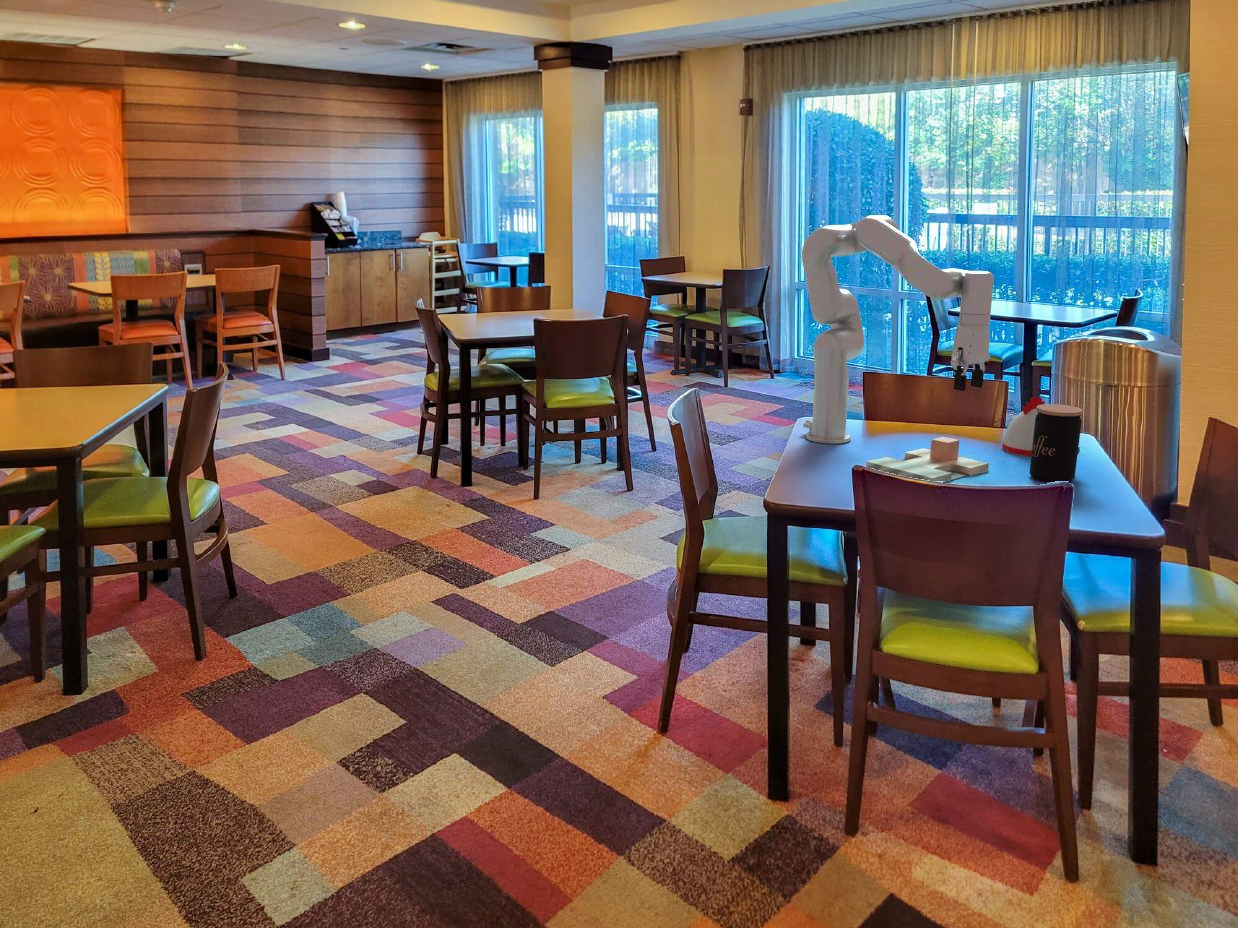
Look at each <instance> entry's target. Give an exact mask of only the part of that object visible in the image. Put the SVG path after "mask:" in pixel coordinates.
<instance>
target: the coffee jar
mask: <svg viewBox="0 0 1238 928" xmlns="http://www.w3.org/2000/svg"><path fill="white" fill-rule="evenodd" d="M1037 412H1038V414H1037V415H1036V417H1035V426H1034V435H1033V444H1032V453H1031V456H1030V462H1029V472H1028V473H1029V475H1030V477H1031V478H1032V479H1033V480H1034V481H1037V480H1038V481H1037V482H1042V483H1045V484H1047V483H1046V482H1055V481H1069V482H1070V483H1071V482H1072V481H1073V480H1074V479H1075V477H1076V470H1077V462H1078V455H1079V454H1078V447H1079V445H1080V437H1081V431H1082V422H1083V421H1082V418H1081V416H1082V415H1083V413H1084V409H1082V408H1080V407H1077V406H1073V405H1067V404H1057V403H1054V404H1053V403H1045V404H1043V405H1038V406H1037ZM1079 448H1080V447H1079Z"/></svg>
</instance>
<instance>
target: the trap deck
mask: <svg viewBox="0 0 1238 928" xmlns="http://www.w3.org/2000/svg"><path fill="white" fill-rule="evenodd" d="M930 451H931V449H927V448H923V447H922V448H918V449H914V450H911V451H905V452H904V458H903V459H896V458H892V457H888V456H884V457H880V458H875V459H871V460H867V461H866V463H865V468H866V467H868V468H874V469H876V470H881V471H883V472H889V473H894V474H896V475H901V476H905V477H912V478H918V479H924V480H930V481H948V482H952V481H955V480H960V479H962V478H967V477H970V476H974V475H977V474H981V473H985V472H989V465H990V464H989V462H985V461H981V460H976V459H974V458H973V459H971V458H969V457H968V458H967V457H963V456H959V455H958V459H955V460H951V461H947V462H946V461H941V460H937V459H933V458H930ZM951 480H952V481H951Z"/></svg>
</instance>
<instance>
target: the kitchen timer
mask: <svg viewBox="0 0 1238 928" xmlns="http://www.w3.org/2000/svg"><path fill="white" fill-rule="evenodd" d="M1025 404H1026V406H1022V411H1021V412H1019V413H1018V414H1017V415H1016V416H1015V417H1014V418H1013V419H1012V420H1011V422H1009V423H1007V425H1006V431H1005V433H1004V436H1003V439H1002V444H1001V445H1002V446H1001V448H1002V450H1003V451H1005V452H1006V453H1010V454H1014V455H1020V456H1025V457H1031V453H1032V444H1033V435H1034V426H1035V417H1036V415H1037V414H1038V412H1037V406H1038V405H1043V404H1046V401H1045V400H1043V397H1041V396H1038V397H1036V396H1034V397H1030V399H1029V401H1026V402H1025Z"/></svg>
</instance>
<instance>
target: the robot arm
mask: <svg viewBox="0 0 1238 928" xmlns="http://www.w3.org/2000/svg"><path fill="white" fill-rule="evenodd" d="M868 251H869V252H870V253H871V254H873V255H874V256H877V257H878V258H879V259H881V260H882V261H884V262H885V263H887V264H888V265H890V266H891V267H893V268H894V269H895V270H896V271H897V273H898V274H899V275H900V276H901V277H902V278H903V279H904V281H906V282H907V283H908V284H909V285H910V286H912V287H913V288H914V289H916V290H918V291H919V292H921V293H922V294H924V295H925V296H927V297H929V298H931V299H933V300H938V301H940V300H947V299H954V298H960V308H959V317H958V318H959V319H958V325H957V327H956V331H955V335H954V338H953V339H954V340H953V344H952V345H953V346H952V351H951V360H950V365H951V367H952V370H953V374H954V380H953V389H954V390H957V391H961V392H965V391H966V390H967V389H966V388H967V377H968V376H967V375H966V373H967V371H968V368H969V366H972V369H973V371H971V375H970V378H971V379H970V387H974V388H979V389H981V388H983V387H984V386H983V384H984V373H985V372H986V368H987V366H988V363H989V361H990V358H991V355H990V350H989V349H990V324H991V313H992V301H993V292H994V283H995V282H994V281H995V276H994V274H993V273H992V272H990V271H985V270H965V269H964V270H963V269H960V268H946V269H945V268H944V269H941V268H939V267H938V266H936V265H934V264H933V263H932V262H930V261H929V260H928V259H926V258H925V257H924V256H923V255H922V254H921V253H920V252H919V251H918V245H917V242H916V241H915V240H914V239H913V238H912V237H909V236H908V235H907V234H905V233H904V232H902V231H900V230H899V227H898V224H897V223H896V221H895V220H894V219H893V218H891V217H889V216H888V215H883V214H881V215H879V214H878V215H876V214H875V215H867V216H864V217H863V218H861V219H860V220H859V221H857V222H853V223H849V224H835V225H834V224H830V225H824V226H821V227H819V228H817V229H815V230H814V231H812V232H811V234H809V235H808V236H807V238H806V240H805V242H804V244H803V246H802V250H801V261H802V266H803V270H804V275H805V280H806V288H807V291H808V298H809V303H810V309H811V314H812V317H813V320H814V321H815V322H816V323H818V324H820V325H824V326H825V325H826V326H828V325H830V329H827V330H825V331H823V332H821V333H820V334H819V335H818V336H817V337H816V338H815V340H814V343H813V349H812V350H813V361H814V382H813V383H814V387H813V404H812V405H813V406H812V420H809V419H807V420H806V421H805V422H804V423H803V425H802V426H803V428H804V429H805V428H806V429H808V432H807V433H806V435H805V436H806V437H805V438H806V439H807V440H809V441H811V442H814V443H819V444H820V443H821V444H832V445H833V444H844V443H849V442H850V441H851V440H852V437H851V435H850V434H849V433H846V432H847V418H848V417H847V416H848V400H849V388H850V387H849V385H850V384H849V383H850V376H849V375H850V374H849V372H850V371H849V366H848V361H850V360H853V359H855V358H857V357H858V356H860V355H861V354H862V351H863V349H864V347H865V335H864V329H863V323H862V319H861V318H862V317H861V312H860V307H859V303H858V300H857V298H856V297H855V295H854V293H852V292H851V291H849V290H847V289H846V288H845V289H844V288H840V286H839V281H838V274H837V271H836V270H837V269H836V268H835V266H834V264H833V261H832V258H833V257H844V256H852V255H854V254H859V253H864V252H868Z"/></svg>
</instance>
